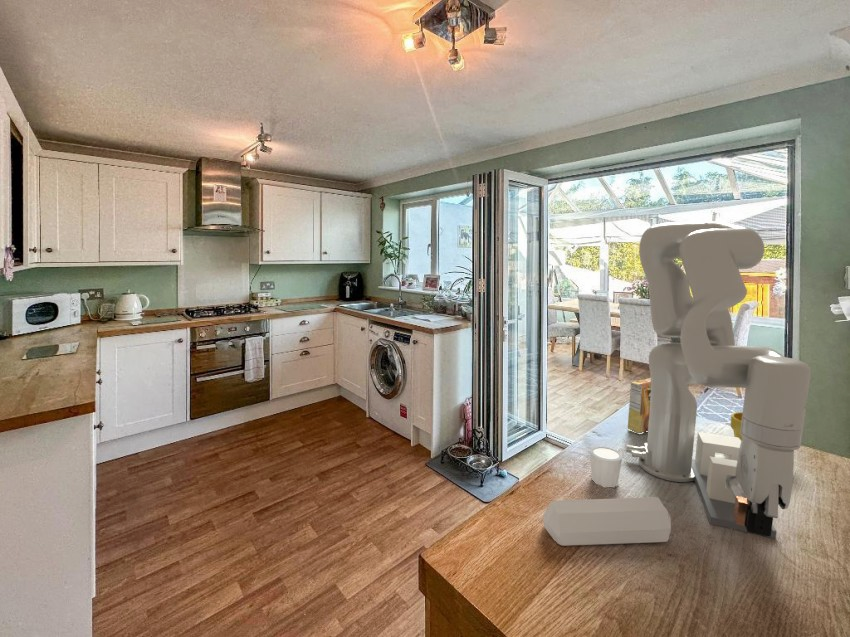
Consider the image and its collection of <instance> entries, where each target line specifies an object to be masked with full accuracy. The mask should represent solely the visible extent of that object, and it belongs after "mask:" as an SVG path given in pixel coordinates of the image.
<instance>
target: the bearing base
mask: <svg viewBox="0 0 850 637" xmlns="http://www.w3.org/2000/svg"><path fill="white" fill-rule="evenodd" d="M696 435H697V436H696V448H695V458H694V459H693V458H692V466H691V467H692V469H693V472H694V475H695V480H694V484H695V486H696V489H697V492H698V495H699V498H700V500H701V502H702V505H703V508H704V510H705V513H706V517H707V520H708V522H709V524H710V525H714V526H717V527H718V526H719V527H723V528H728V529H731V530H736V531H740V532H745V533H749V534H751V533H750V532H748V531H747V529H746V527H745V526H742V525H737V524H736V522H735V520H734V518H733V516H734V508H735V499H736V498H735V496H734V494H733V493H732V491H731V489H730V487H729V485H728V483H727V481H726V476H727V475H732V476H736V466H737V460H738V455H739V449H740V444H741V440H740V439H739V438H737V437H734V436H731V435H730V436H729V435H722V434H715V433H709V432H702V431H697V434H696ZM723 458H726V459H723ZM752 534H753V535H755V534H754V533H752ZM756 535H758V534H756ZM761 536H763V535H761ZM763 537H764V536H763ZM765 537H767V536H765ZM769 538H772V539H775V540H776V538H777V530H776V527H775V526H774V525H773V523H772V530H771V536H770V537H769Z"/></svg>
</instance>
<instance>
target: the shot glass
mask: <svg viewBox="0 0 850 637" xmlns="http://www.w3.org/2000/svg"><path fill="white" fill-rule="evenodd" d="M589 453H590V454H589V456H590V457H589V459H590V472H591V473H590V476H591V477H592V478H591V481H592V480H593V481H594V482H595V483H597V484H599V485H602V486H605V487H604V488H606V487H613V488H615V486H616V487H617V486H618V483H619V480H620V479H619V478H620V472H621V469H622V468H621V467H622V462H623V454H622V453H621V452H620V451H618V450H617V449H614V448H611V447H607V446H595V447H592V448H591V449H590V450H589ZM593 481H592V482H593ZM594 482H593V483H594ZM595 483H594V484H595ZM597 484H596V485H597ZM599 485H598V486H599Z"/></svg>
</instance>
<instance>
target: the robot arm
mask: <svg viewBox="0 0 850 637" xmlns="http://www.w3.org/2000/svg"><path fill="white" fill-rule="evenodd" d="M638 248H639V249H638V250H639V253H638V254H639V260H640V264H641V267H642V271H643V273H644V275H645V277H646V278H645V279H646V281H647V285H648V295H649V306H650V313H651V314H650V317H651V323H652V328H653V330H654V332H655V333H656V334H657V335H658V336H660V337H664V338H679V339H680V340H679V341H680V342H665V343H661V344H658V345H656V346H654V347H653V348H652V349H651V350H650V352H649V355H648V369H649V375H650V377H649V378H651V398H650V413H649V427H648V433H647V440H646V441H647V442H644V445H640V446H635V445H632V444H626V446H625V452H626V453H630V454H631V457H634V458H638V464H639V466H640V467H641V468H642V469H643V470H644V471H645V472H647V473H649V475H652V476H655V477H657V478H659V479H662V480H666V481H671V482H677V483H688V482H689V483H690V482H693V481H694V480H695V475H694V472H693V469H692V467H691V466H692V459H693V457H694V456H693V455H694V444H695V443H694V442H695V434H696V432H695V431H696V422H697V411H698V410H697V409H698V403H697V399H696V398H695V395H693V393H692V392H691V390H690V389H689V386H688V385H697V384H698V385H701V386H703V387H707V388H734V389H735V388H737V389H738V388H739V389H740V388H742V389H745V390H744V391H745V392H744V397H743V398H744V399H743V406H742V412H743V414H742V422H741V431H740V435H741V436H742V440H741V444H740V449H739V455H738V460H737V466H736V478H737V480H738V482H739V484H740V486H741V488H742V490H743V491H744V493H745V495H746V497H747V504H748V505H750V506H747V507H746V515H745V523H744V525H745V527H746V529H747V531H748V532H750V533H749V534H753V533H754V534H753V535H757V534H758V535H759V536H762V535H763V537H766V536H767V537H768V538H771V537H770V536H771V530H772V524H773V523H774V522H773V521H774V519H778V517H779V507H780V509H782V510H787V509H788V508H789V506H790V502H791V499H792V498H791V497H792V493H793V492H792V491H793V490H792V488H793V480H794V478H793V477H794V463H795V462H794V460H795V457H794V456H795V451H797V450H799V449H801V445H802V437H803V431H804V424H805V417H806V410H807V404H808V397H809V390H810V382H811V376H812V372H811V368H810V366H809V365H808V364H807V363H806V362H804V361H801V360H800V359H799V360H798V359H796V358H791V357H785V356H784V355H782V354H780V353H779V352H778V351H776V350H775V349H773V348H770V347H766V346H761V345H760V346H759V345H735V344H736V343H735V337H734V329H733V328H734V327H733V322H732V316H731V313H730V310H729V309H731V308H732V307H734V306H737V305H738V304H739V303H741V302H742V301H743V300H744V299H745V298H746V297H747V295H748V293H747V292H748V290H747V287H746V285H745V282H744V280H743V277H742V275H741V272H740V270H747V269H752V268H754V267H756V266H757V265H758V264H760V262H761V261H762V260H763V257H764V255H765V244H764V240H763V238H762V237H761V235H760V234H759V233H758V232H757V231H756V230H754V229H751V228H749V227H745V226H741V225H735V224H731V223H727V222H721V221H700V222H699V221H697V222H696V221H695V222H692V221H688V222H687V221H685V222H683V221H682V222H680V221H679V222H664V223H660V224H659V223H658V224H655V225H653V226H650V227H648V228H647V229H646V230H645V231H644V232H643V233H642V236H641V237H640V241H639V246H638ZM679 259H681V262H682V266H683V269H682V268H681V267H680V266H679V264H676V262H674V260H679ZM694 482H695V481H694ZM748 532H747V533H748Z"/></svg>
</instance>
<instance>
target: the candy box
mask: <svg viewBox="0 0 850 637" xmlns="http://www.w3.org/2000/svg"><path fill="white" fill-rule="evenodd" d="M629 392H630V393H629V404H628V406H629V407H628V415H627V416H628V418H627V428H628V429H630V430H632V431H634V432H636V433H642V432H646V431H648V427H649V413H650V398H651V377H649V378H645V379H640V380H639V379H638V380H635V381H632V382H630V391H629Z"/></svg>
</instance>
